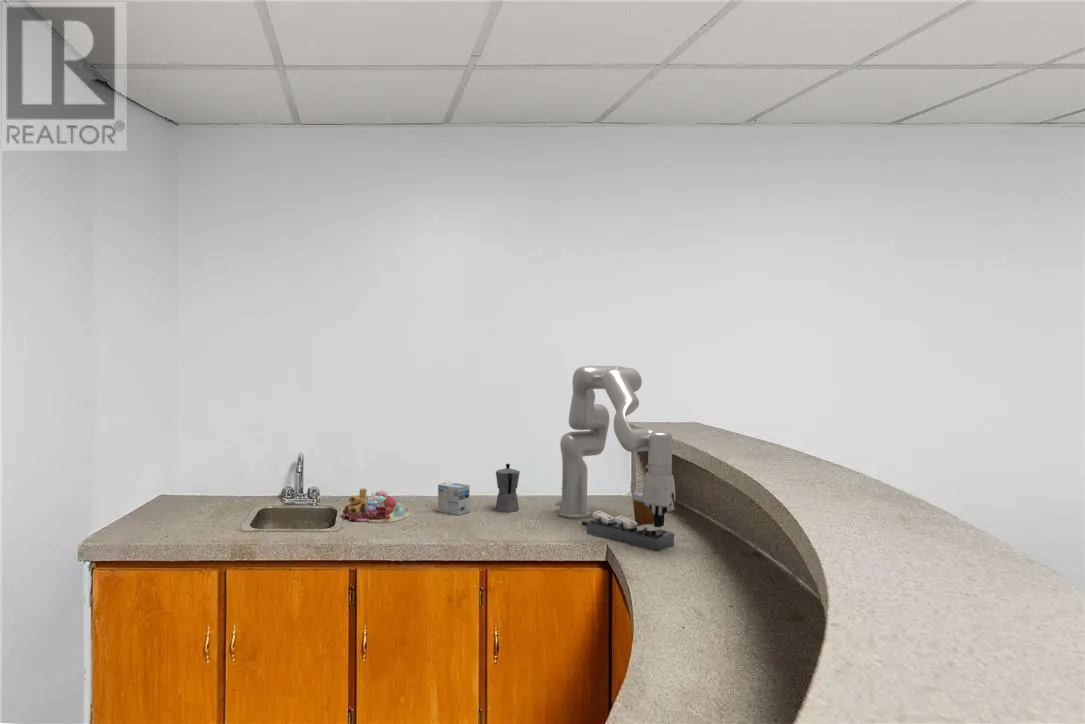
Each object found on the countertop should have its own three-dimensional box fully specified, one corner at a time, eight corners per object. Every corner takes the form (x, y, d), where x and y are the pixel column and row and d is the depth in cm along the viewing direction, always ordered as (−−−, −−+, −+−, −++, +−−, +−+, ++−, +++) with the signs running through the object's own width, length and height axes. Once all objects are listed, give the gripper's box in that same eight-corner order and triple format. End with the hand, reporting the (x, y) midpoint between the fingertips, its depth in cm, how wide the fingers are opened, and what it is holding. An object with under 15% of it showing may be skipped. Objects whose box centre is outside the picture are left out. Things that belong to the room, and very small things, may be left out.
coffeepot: (493, 505, 299) (494, 460, 298) (517, 505, 301) (517, 460, 300) (497, 515, 284) (498, 467, 283) (522, 514, 285) (523, 467, 285)
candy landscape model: (331, 522, 271) (332, 496, 271) (355, 507, 295) (356, 483, 294) (399, 525, 268) (399, 499, 268) (418, 509, 292) (418, 486, 291)
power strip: (573, 530, 265) (573, 513, 265) (591, 525, 272) (592, 508, 272) (656, 551, 241) (656, 532, 241) (673, 545, 248) (674, 527, 248)
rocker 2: (613, 520, 254) (614, 517, 253) (621, 518, 257) (622, 515, 257) (629, 529, 249) (630, 525, 249) (637, 526, 252) (638, 523, 252)
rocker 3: (636, 530, 247) (636, 526, 247) (644, 527, 250) (644, 524, 250) (654, 530, 242) (654, 526, 242) (662, 528, 246) (661, 524, 246)
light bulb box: (470, 512, 288) (470, 484, 288) (458, 515, 282) (459, 487, 282) (448, 508, 294) (448, 480, 293) (437, 511, 288) (437, 483, 288)
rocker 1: (591, 515, 260) (592, 512, 260) (599, 513, 263) (600, 510, 263) (607, 523, 256) (608, 520, 255) (615, 521, 259) (616, 517, 259)
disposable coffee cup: (656, 531, 265) (657, 497, 265) (629, 529, 267) (630, 495, 267) (658, 524, 275) (659, 491, 274) (632, 522, 277) (632, 490, 276)
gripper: (634, 468, 246) (633, 524, 246) (672, 474, 235) (672, 532, 236) (647, 465, 251) (646, 520, 252) (686, 471, 241) (685, 528, 241)
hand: (658, 526), depth 244 cm, fingers closed
